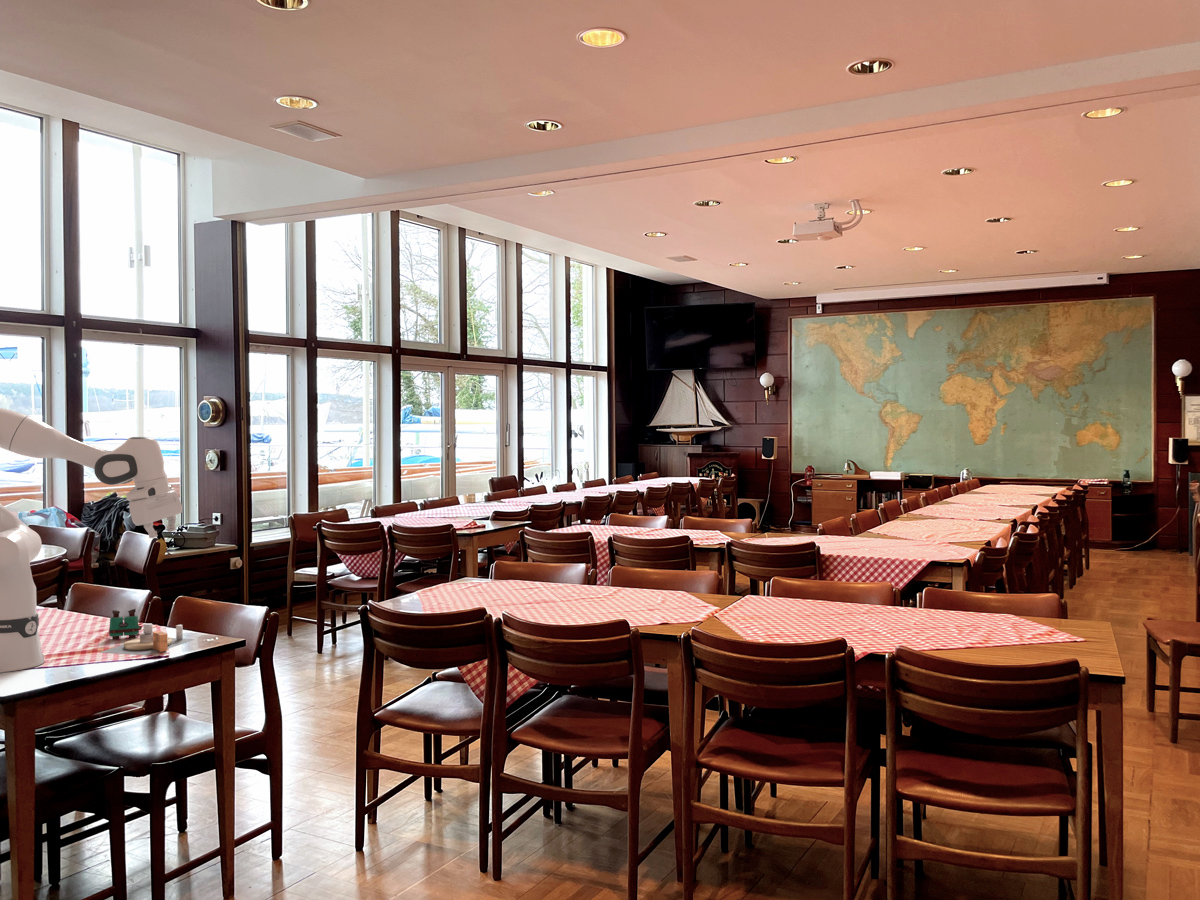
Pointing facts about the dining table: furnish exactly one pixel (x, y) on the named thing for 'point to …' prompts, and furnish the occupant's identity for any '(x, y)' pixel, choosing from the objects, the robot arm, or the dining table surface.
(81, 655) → the dining table surface
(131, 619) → the binoculars
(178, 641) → the base plate
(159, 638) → the maple flange
